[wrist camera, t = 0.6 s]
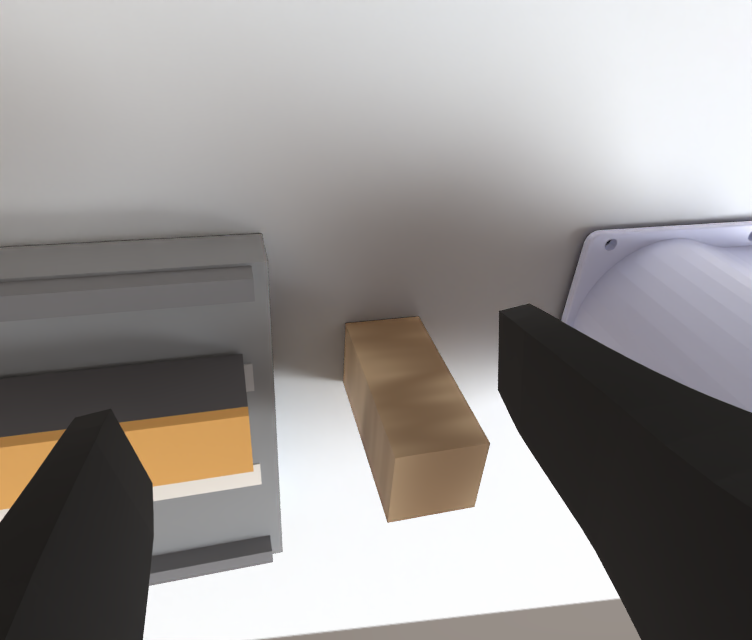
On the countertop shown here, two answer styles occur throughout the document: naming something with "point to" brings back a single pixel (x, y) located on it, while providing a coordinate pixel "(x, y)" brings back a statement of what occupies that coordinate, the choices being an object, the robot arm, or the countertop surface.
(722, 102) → the countertop surface
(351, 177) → the countertop surface
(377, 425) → the oak post
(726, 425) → the robot arm
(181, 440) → the breaker toggle
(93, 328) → the box
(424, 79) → the countertop surface
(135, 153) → the countertop surface
